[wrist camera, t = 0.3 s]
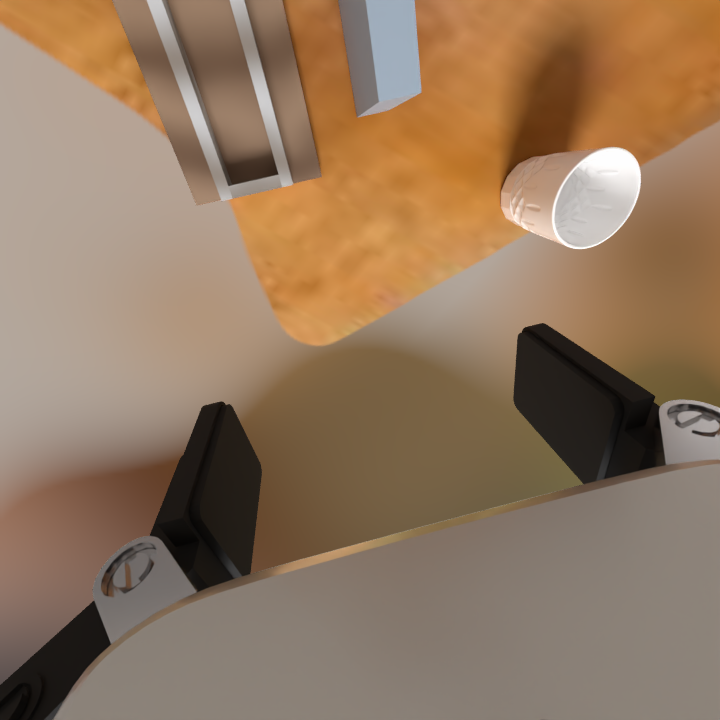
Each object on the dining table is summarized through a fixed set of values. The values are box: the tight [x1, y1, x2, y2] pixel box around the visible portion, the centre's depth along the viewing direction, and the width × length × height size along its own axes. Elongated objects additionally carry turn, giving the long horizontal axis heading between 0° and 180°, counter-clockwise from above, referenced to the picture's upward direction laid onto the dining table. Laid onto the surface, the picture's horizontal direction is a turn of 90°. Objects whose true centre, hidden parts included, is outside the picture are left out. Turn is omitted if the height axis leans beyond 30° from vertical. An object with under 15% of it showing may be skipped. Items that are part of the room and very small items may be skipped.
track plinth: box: [112, 0, 322, 205], centre depth 27 cm, size 20×12×4 cm, turn 11°
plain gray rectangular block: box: [338, 0, 421, 117], centre depth 24 cm, size 12×3×10 cm, turn 11°
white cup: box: [501, 147, 641, 249], centre depth 33 cm, size 8×8×10 cm
